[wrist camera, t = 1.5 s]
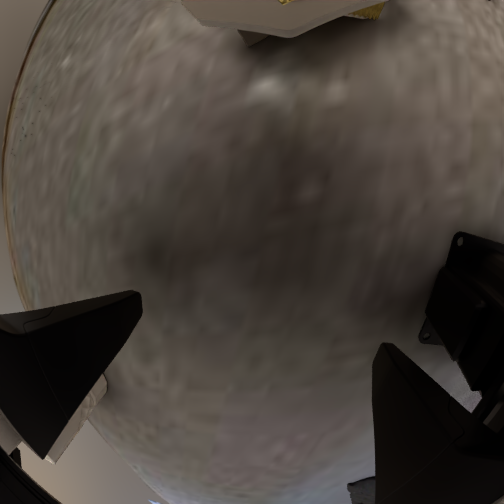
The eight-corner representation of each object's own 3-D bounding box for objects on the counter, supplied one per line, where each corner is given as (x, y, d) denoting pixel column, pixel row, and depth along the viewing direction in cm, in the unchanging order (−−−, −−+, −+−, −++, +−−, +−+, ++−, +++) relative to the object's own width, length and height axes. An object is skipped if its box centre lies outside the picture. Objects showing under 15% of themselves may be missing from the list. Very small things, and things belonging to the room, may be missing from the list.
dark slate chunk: (478, 433, 14) (489, 466, 10) (448, 492, 19) (451, 513, 14) (339, 477, 19) (337, 514, 14) (358, 517, 23) (357, 539, 19)
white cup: (44, 323, 20) (-24, 375, 10) (96, 342, 18) (16, 419, 9) (71, 382, 22) (19, 436, 13) (123, 406, 20) (70, 478, 11)
